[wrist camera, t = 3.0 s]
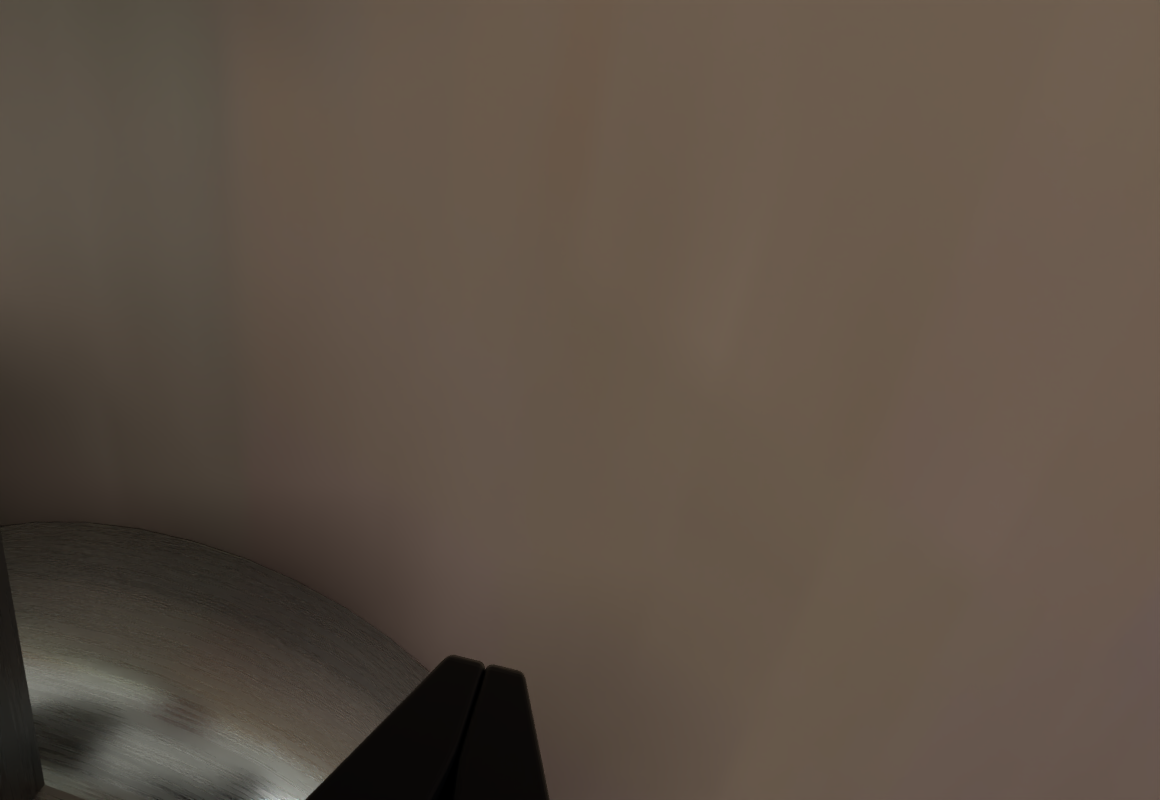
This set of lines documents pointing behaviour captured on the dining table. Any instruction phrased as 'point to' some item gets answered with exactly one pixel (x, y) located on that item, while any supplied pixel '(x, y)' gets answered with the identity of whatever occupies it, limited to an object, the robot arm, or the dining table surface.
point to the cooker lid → (17, 712)
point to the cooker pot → (189, 668)
